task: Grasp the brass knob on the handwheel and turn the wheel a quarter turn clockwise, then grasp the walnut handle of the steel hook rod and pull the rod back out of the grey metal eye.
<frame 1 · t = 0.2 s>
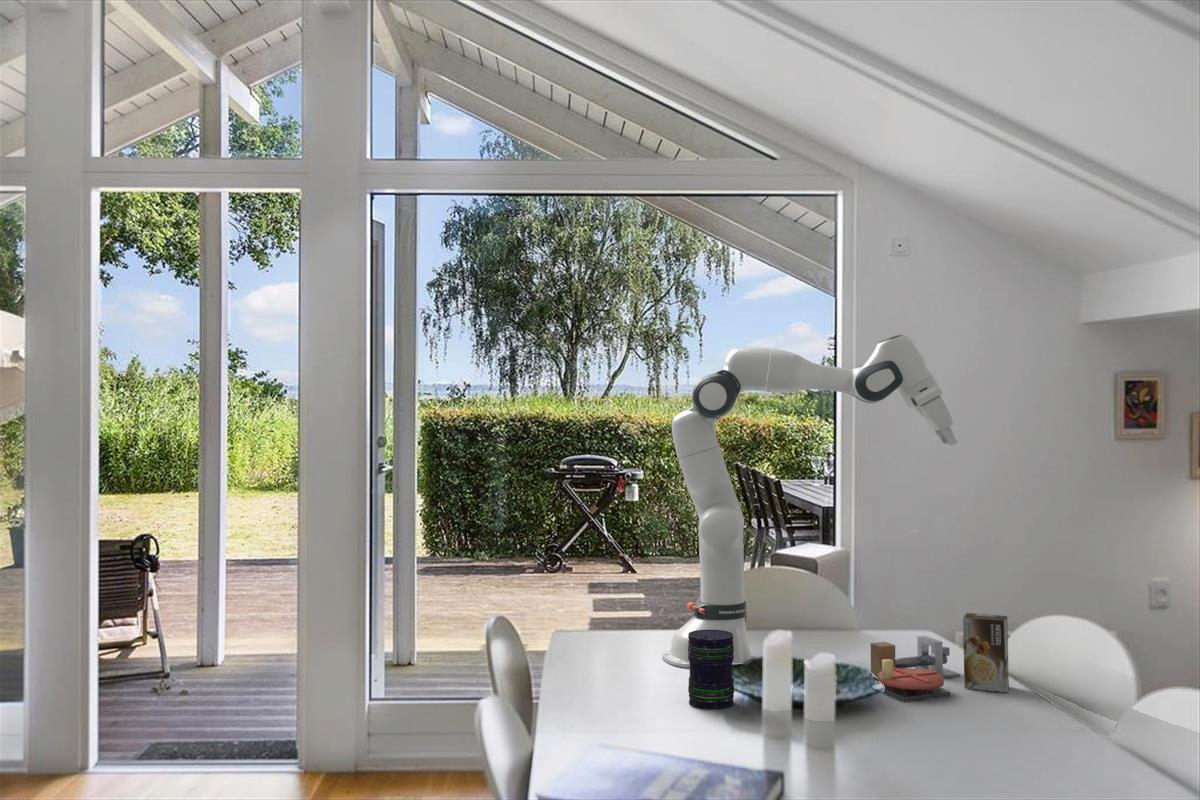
hand: (950, 443, 267), 54 cm above the table, tool tilted 30°, fingers open, 8 cm apart
eye bracket: (930, 673, 258), on the table
wheel base: (910, 692, 242), on the table
hook: (912, 657, 256), point 4 cm above the table, slide at 0.0 cm
handwheel: (910, 671, 242), point 5 cm above the table, hinge at 0.0°
storage jar: (711, 704, 234), on the table
coffee box: (986, 688, 245), on the table
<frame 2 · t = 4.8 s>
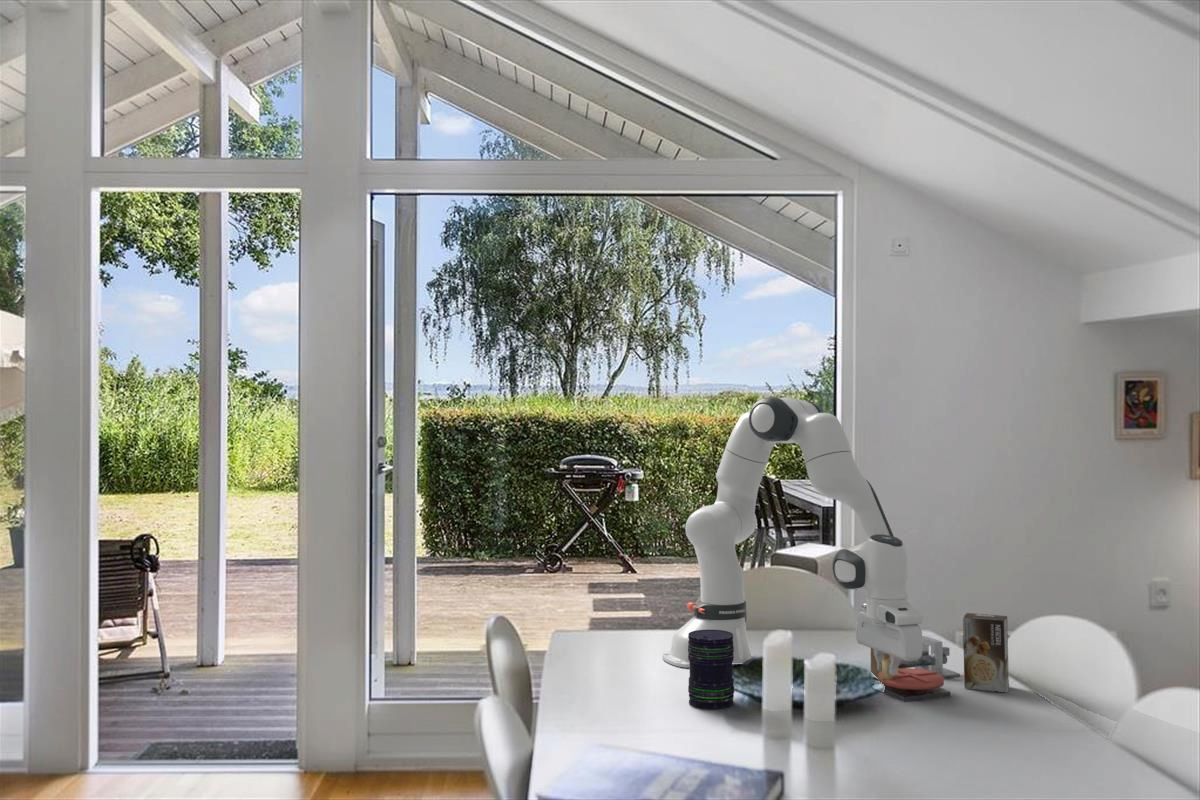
hand: (887, 672, 240), 5 cm above the table, tool pointing down, fingers closed on handwheel, 2 cm apart
handwheel: (910, 671, 242), point 5 cm above the table, hinge at 0.0°, touching gripper
everything else where it was.
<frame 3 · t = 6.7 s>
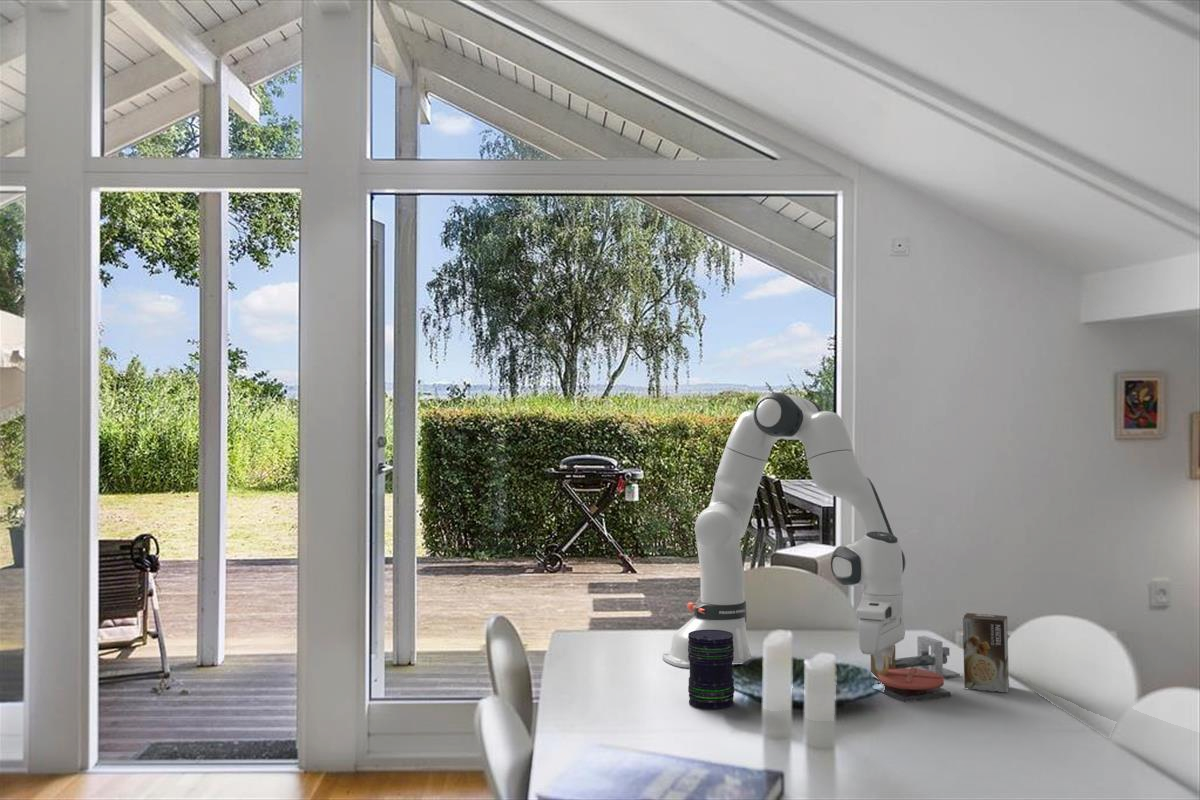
hand: (883, 667, 244), 5 cm above the table, tool pointing down, fingers open, 3 cm apart
handwheel: (910, 671, 242), point 5 cm above the table, hinge at -40.9°, touching gripper
everything else where it was.
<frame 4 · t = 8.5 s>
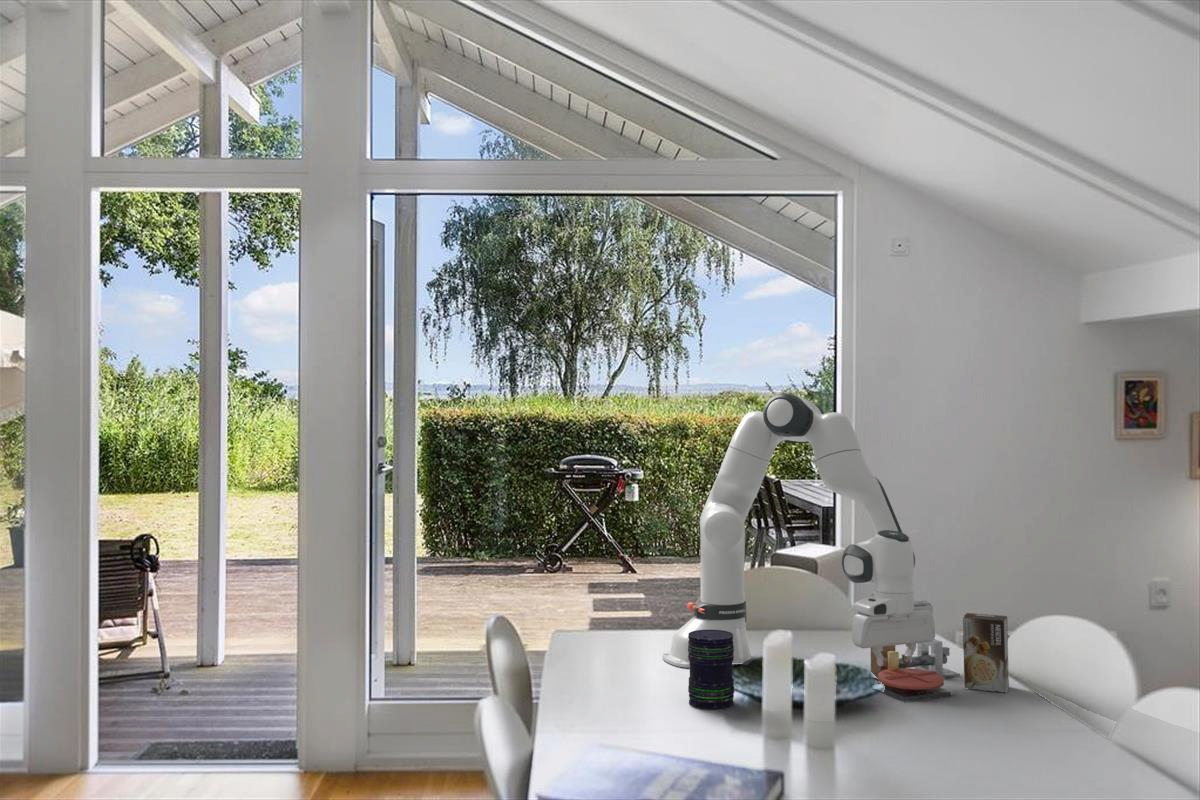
hand: (894, 664, 247), 5 cm above the table, tool pointing down, fingers open, 5 cm apart
handwheel: (910, 671, 242), point 5 cm above the table, hinge at -86.5°
everything else where it was.
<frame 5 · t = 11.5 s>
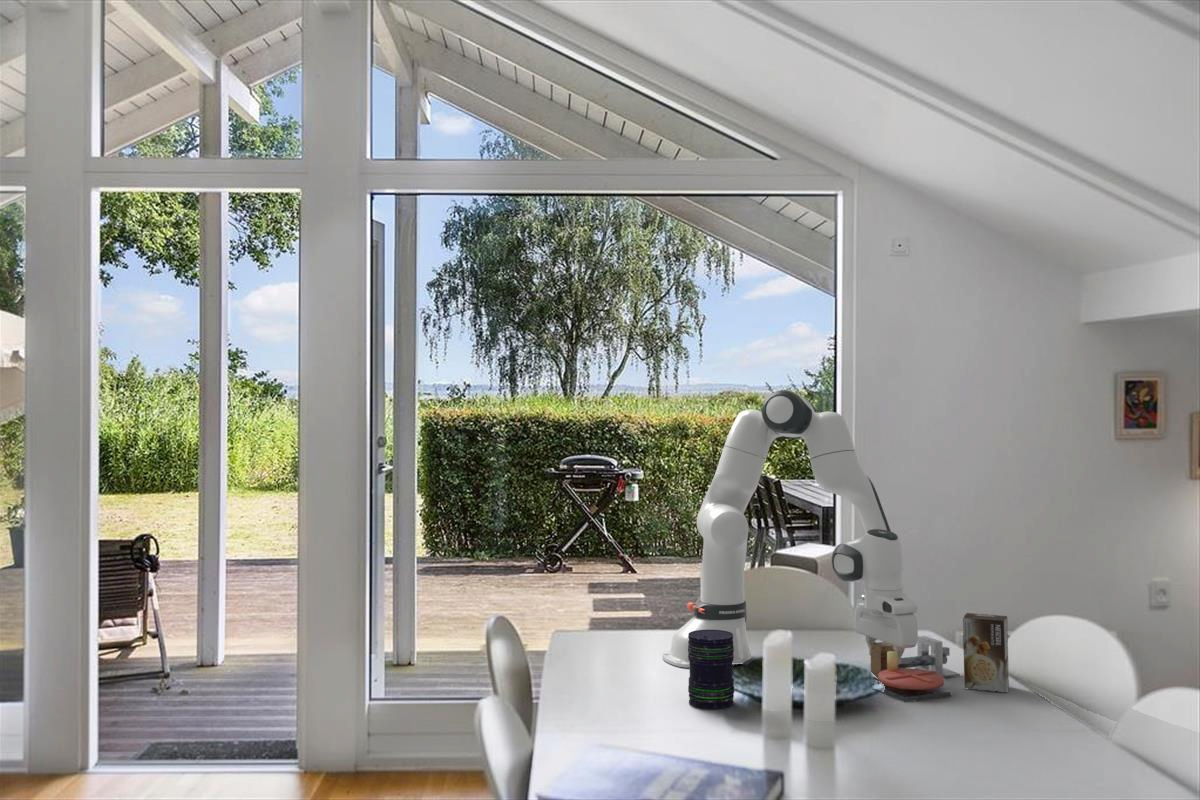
hand: (885, 659, 253), 4 cm above the table, tool pointing down, fingers open, 7 cm apart
handwheel: (910, 671, 242), point 5 cm above the table, hinge at -84.9°, touching gripper
everything else where it was.
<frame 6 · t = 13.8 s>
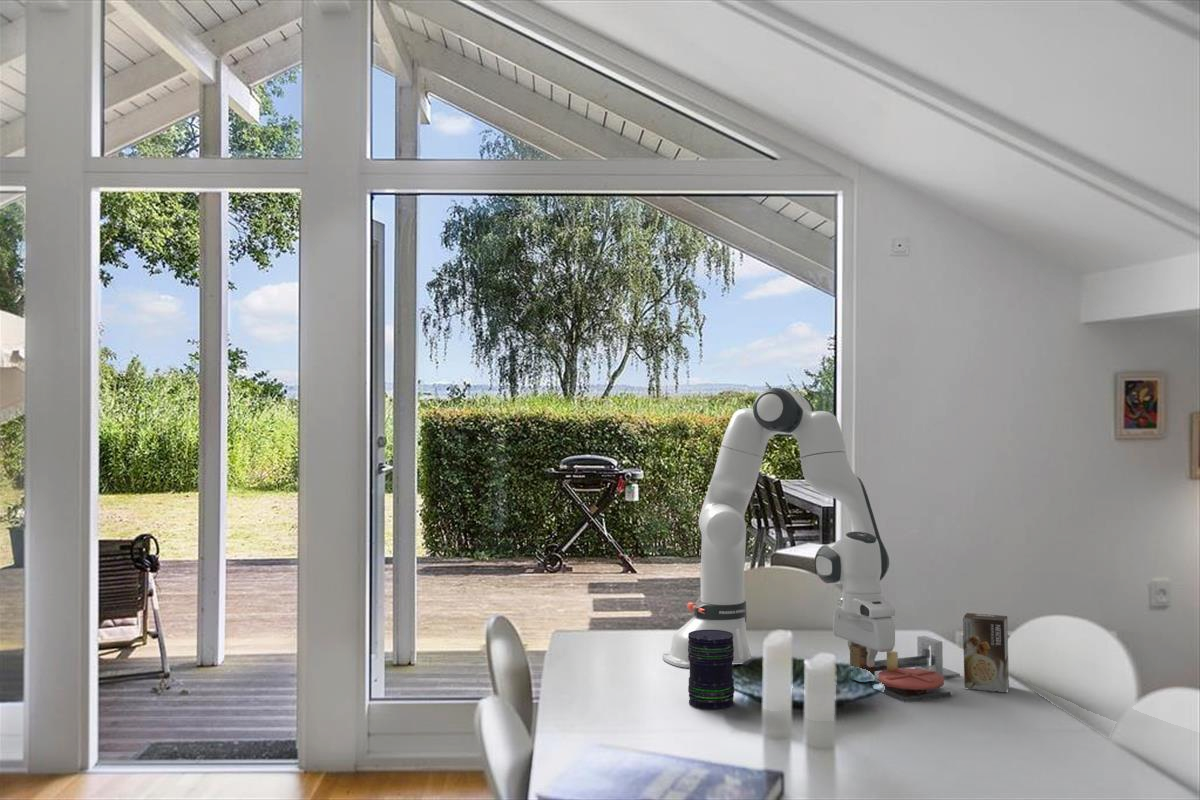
hand: (862, 663, 251), 4 cm above the table, tool pointing down, fingers closed on hook, 4 cm apart
hook: (892, 660, 254), point 4 cm above the table, slide at 5.6 cm, touching gripper
handwheel: (910, 671, 242), point 5 cm above the table, hinge at -83.7°
everything else where it was.
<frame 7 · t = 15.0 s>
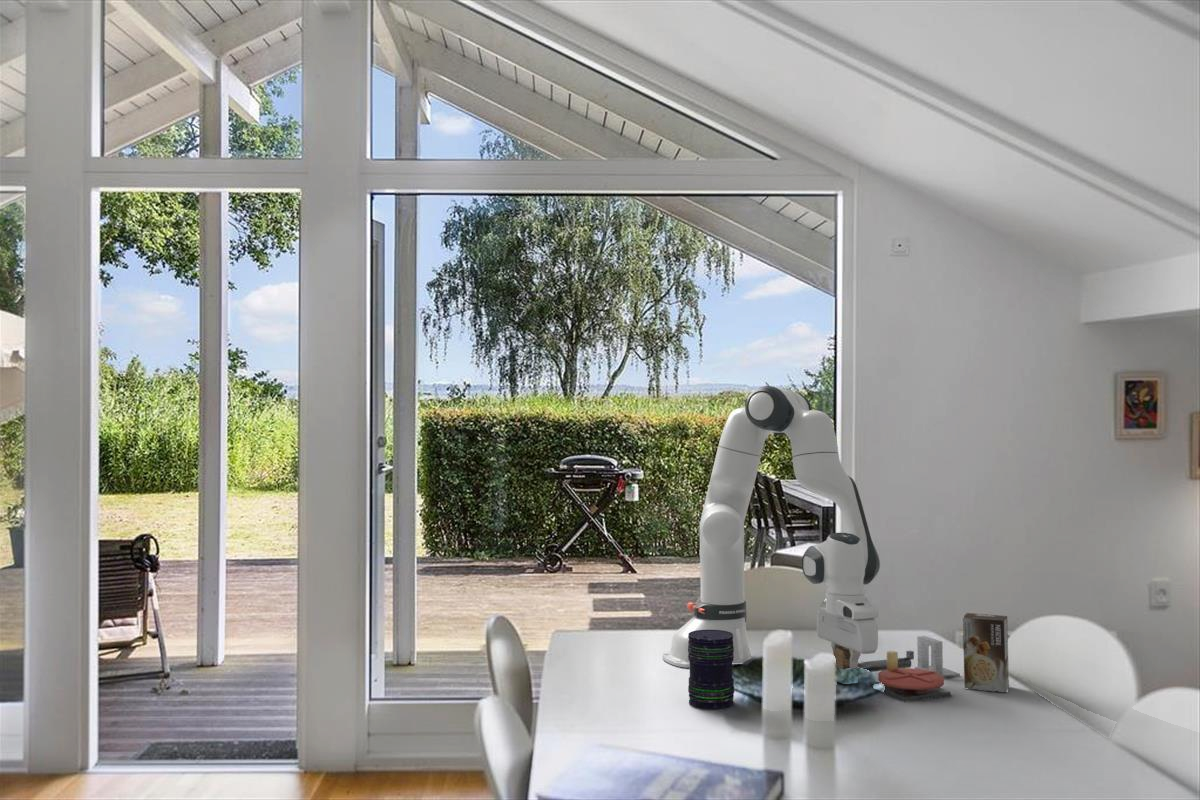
hand: (846, 665, 250), 4 cm above the table, tool pointing down, fingers closed on hook, 4 cm apart
hook: (875, 661, 253), point 4 cm above the table, slide at 10.0 cm, touching gripper
everything else where it was.
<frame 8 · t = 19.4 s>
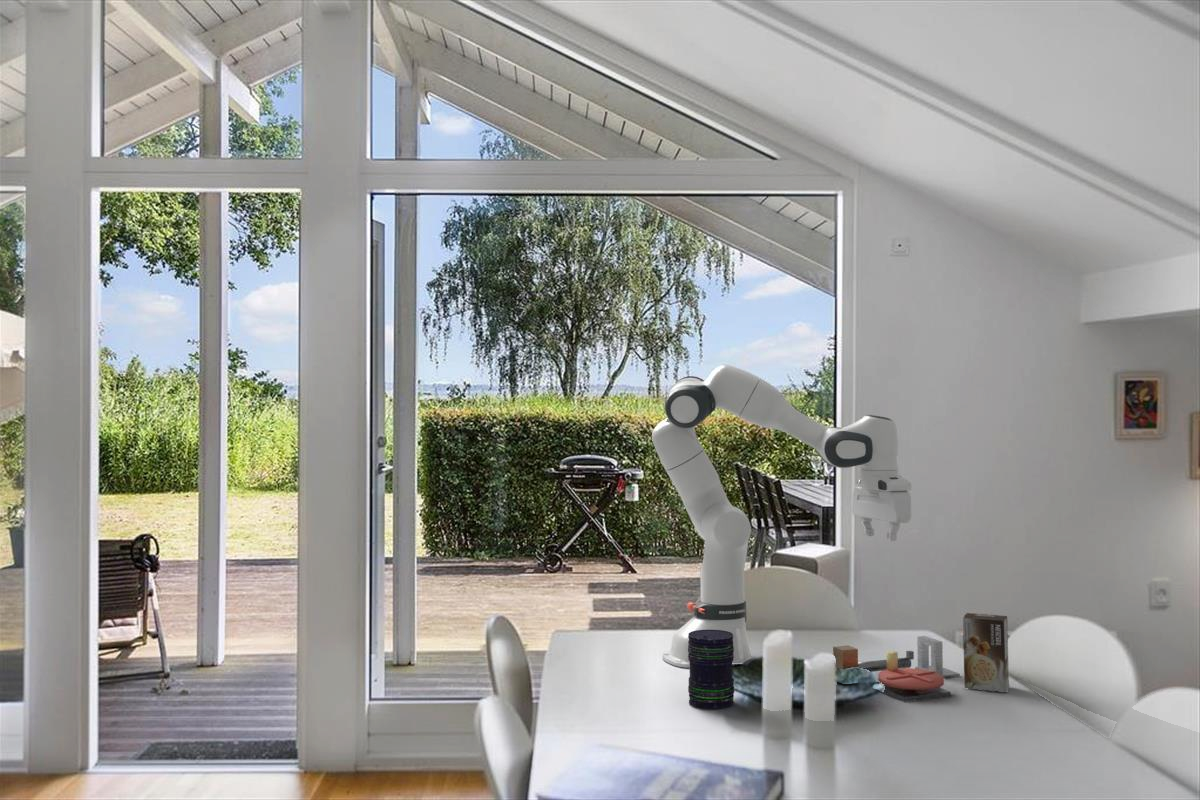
hand: (880, 538, 266), 31 cm above the table, tool pointing down, fingers open, 8 cm apart
hook: (875, 661, 253), point 4 cm above the table, slide at 10.1 cm
everything else where it was.
at the end: handwheel at -84° (first picture: +0°); hook slide at 10.1 cm; the gripper is holding nothing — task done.
